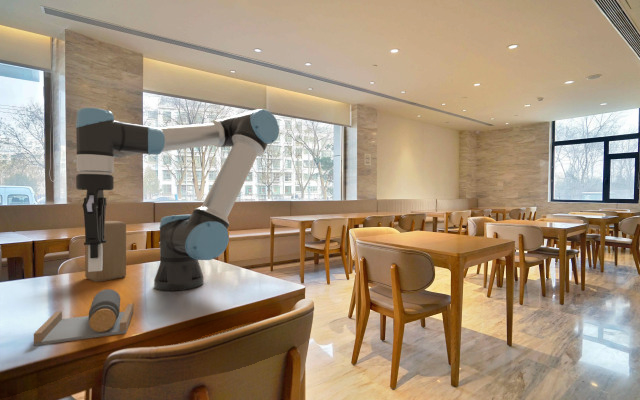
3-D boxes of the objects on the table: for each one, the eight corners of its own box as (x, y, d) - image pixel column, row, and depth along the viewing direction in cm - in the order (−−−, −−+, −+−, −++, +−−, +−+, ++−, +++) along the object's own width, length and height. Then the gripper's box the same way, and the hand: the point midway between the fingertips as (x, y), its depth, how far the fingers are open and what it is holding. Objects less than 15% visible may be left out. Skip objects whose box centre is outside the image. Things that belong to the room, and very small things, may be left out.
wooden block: (114, 273, 126) (114, 220, 126) (127, 277, 120) (127, 221, 120) (84, 278, 118) (83, 222, 117) (96, 283, 112) (95, 223, 112)
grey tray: (133, 313, 85) (133, 303, 85) (126, 333, 73) (126, 322, 73) (55, 322, 78) (55, 312, 78) (33, 345, 66) (33, 333, 66)
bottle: (86, 305, 81) (79, 327, 68) (103, 284, 83) (99, 301, 70) (109, 316, 84) (106, 339, 71) (125, 295, 85) (125, 314, 72)
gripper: (83, 174, 86) (83, 266, 86) (68, 171, 74) (68, 278, 74) (117, 175, 88) (117, 264, 89) (108, 172, 76) (108, 275, 77)
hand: (95, 270), depth 81 cm, fingers closed
